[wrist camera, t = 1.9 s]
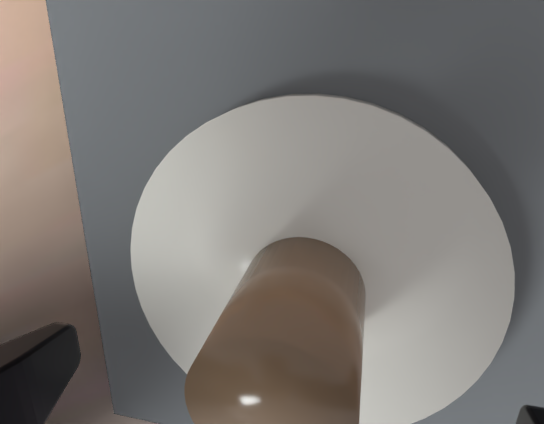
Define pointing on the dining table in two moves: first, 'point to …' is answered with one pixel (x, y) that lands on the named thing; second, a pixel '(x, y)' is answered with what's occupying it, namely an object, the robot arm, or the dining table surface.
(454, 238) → the lid
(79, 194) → the mat
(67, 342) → the robot arm
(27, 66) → the dining table surface
